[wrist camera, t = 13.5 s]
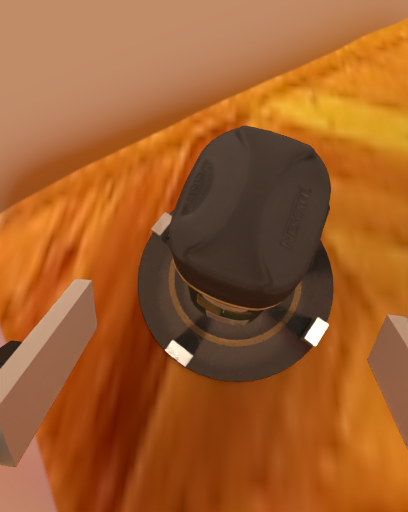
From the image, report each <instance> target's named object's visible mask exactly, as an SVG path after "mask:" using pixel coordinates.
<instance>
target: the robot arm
mask: <svg viewBox="0 0 408 512" xmlns="http://www.w3.org/2000/svg"><path fill="white" fill-rule="evenodd" d="M96 328H97V320H96V311H95V303H94V295H93V287H92V280H83V279H75V280H74V281H73V282H72V283H71V284H70V286H69V287H68V288H67V289H66V290H65V292H64V293H63V294H62V295H61V297H60V298H59V299H58V300H57V301H56V303H55V304H54V305H53V306H52V307H51V309H50V310H49V311H48V312H47V313H46V315H45V316H44V317H43V318H42V319H41V321H40V322H39V323H38V324H37V325H36V327H35V328H34V329H33V330H32V331H31V333H30V334H29V335H28V336H27V337H26V339H25V340H24V341H23V342H19V341H10V342H8V343H7V344H5V345H4V346H2V347H1V348H0V465H5V466H13V467H16V466H17V464H18V463H19V461H20V459H21V458H22V456H23V454H24V453H25V451H26V449H27V447H28V446H29V444H30V442H31V440H32V439H33V437H34V435H35V434H36V432H37V430H38V428H39V427H40V425H41V423H42V421H43V420H44V418H45V416H46V415H47V413H48V411H49V409H50V408H51V406H52V404H53V403H54V401H55V399H56V397H57V396H58V394H59V392H60V390H61V389H62V387H63V385H64V384H65V382H66V380H67V378H68V377H69V375H70V373H71V371H72V370H73V368H74V366H75V365H76V363H77V361H78V359H79V358H80V356H81V354H82V353H83V351H84V349H85V347H86V346H87V344H88V342H89V340H90V339H91V337H92V335H93V334H94V332H95V330H96ZM367 360H368V363H369V365H370V367H371V369H372V371H373V374H374V376H375V378H376V380H377V383H378V385H379V387H380V389H381V391H382V394H383V396H384V398H385V400H386V403H387V405H388V407H389V409H390V412H391V414H392V416H393V418H394V420H395V423H396V425H397V427H398V429H399V432H400V434H401V436H402V438H403V441H404V443H405V445H406V447H407V449H408V319H407V318H406V316H398V315H389V314H387V316H386V318H385V321H384V323H383V325H382V327H381V330H380V332H379V334H378V337H377V339H376V341H375V343H374V346H373V348H372V350H371V353H370V355H369V357H368V359H367Z"/></svg>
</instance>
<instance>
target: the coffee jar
mask: <svg viewBox="0 0 408 512" xmlns="http://www.w3.org/2000/svg"><path fill="white" fill-rule="evenodd" d="M330 194H331V185H330V178H329V174H328V172H327V169H326V167H325V165H324V163H323V161H322V160H321V158H320V157H319V156H318V154H317V153H316V152H315V150H314V149H313V148H312V147H311V146H309V145H307V144H305V143H302V142H300V141H297V140H295V139H292V138H290V137H287V136H284V135H281V134H278V133H274V132H271V131H267V130H263V129H259V128H255V127H250V126H242V127H240V128H237V129H233V130H230V131H228V132H225V133H223V134H221V135H220V136H218V137H216V138H215V139H213V140H212V141H211V142H210V143H209V144H208V145H207V146H206V147H205V148H204V150H203V151H202V152H201V154H200V156H199V157H198V159H197V161H196V163H195V165H194V167H193V169H192V170H191V172H190V174H189V176H188V178H187V180H186V182H185V184H184V187H183V189H182V192H181V194H180V197H179V199H178V202H177V205H176V207H175V210H174V213H173V216H172V218H171V222H170V226H169V245H170V250H171V253H172V255H173V261H174V264H175V267H176V270H177V271H178V273H179V275H180V276H181V277H182V279H183V280H184V281H185V282H186V283H187V284H188V289H189V294H190V298H191V301H192V303H193V304H194V306H195V307H196V308H197V309H198V310H199V311H200V312H201V313H203V314H205V315H207V316H208V317H210V318H212V319H215V320H217V321H220V322H223V323H226V324H231V325H245V324H248V323H250V322H252V321H253V320H255V319H256V318H257V317H258V316H259V315H260V314H261V313H262V312H263V311H264V310H265V309H268V308H271V307H274V306H276V305H278V304H279V303H281V302H282V301H283V300H285V299H286V298H287V297H288V296H289V295H290V294H291V293H292V292H293V291H294V289H295V288H296V287H297V285H298V284H299V283H300V282H301V280H302V279H303V277H304V276H305V274H306V272H307V271H308V270H309V269H310V268H311V267H312V264H313V261H314V257H315V254H316V251H317V247H318V244H319V241H320V238H321V234H322V231H323V228H324V225H325V222H326V219H327V216H328V213H329V210H330V206H329V200H330Z"/></svg>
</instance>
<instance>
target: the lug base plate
mask: <svg viewBox="0 0 408 512" xmlns="http://www.w3.org/2000/svg"><path fill="white" fill-rule="evenodd" d="M173 213H174V211H172V212H171V213H170V214H168V213H166V212H165V213H164V214H163V215H162V216H161V217H160V219H159V220H158V221H157V222H156V224H155V225H154V226H153V227H152V228H151V230H152V232H153V233H152V235H151V237H150V239H149V241H148V242H147V244H146V247H145V249H144V252H143V255H142V258H141V262H140V266H139V274H138V295H139V301H140V306H141V309H142V313H143V316H144V319H145V321H146V323H147V325H148V327H149V330H150V331H151V333H152V334H153V336H154V337H155V339H156V341H157V342H158V343H159V344H160V345H161V347H162V348H163V349H164V350H165V351H166V352H167V353H168V354H169V355H170V356H171V357H172V358H174V359H175V360H176V361H177V362H179V363H180V364H182V365H183V366H185V367H186V368H188V369H190V370H192V371H194V372H196V373H198V374H201V375H203V376H206V377H209V378H213V379H218V380H223V381H235V382H242V381H253V380H258V379H262V378H266V377H269V376H272V375H274V374H277V373H279V372H281V371H283V370H285V369H286V368H288V367H290V366H292V365H293V364H294V363H296V362H297V361H298V360H299V359H301V358H302V357H303V356H304V355H305V354H306V353H307V352H308V351H309V350H310V349H311V348H312V346H316V345H317V343H318V342H319V340H320V339H321V337H322V335H323V334H324V332H325V331H326V329H327V327H328V326H329V324H327V323H326V322H327V320H328V317H329V314H330V310H331V305H332V300H333V276H332V271H331V266H330V262H329V259H328V256H327V253H326V250H325V248H324V246H323V244H322V242H321V240H320V241H319V244H318V247H317V251H316V254H315V257H314V261H313V264H312V267H311V268H310V269H309V270H308V271H307V272H306V274H305V276H304V277H303V279H302V280H301V282H300V283H299V284H298V285H297V287H296V288H295V289H294V291H293V292H292V293H291V294H290V295H289V296H288V297H287V298H286V299H285V300H283V301H282V302H281V303H279V304H278V305H276V306H274V307H271V308H268V309H265V310H264V311H263V312H262V313H261V314H260V315H259V316H258V317H257V318H256V319H255V320H253V321H252V322H250V323H248V324H245V325H231V324H226V323H223V322H220V321H217V320H215V319H212V318H210V317H208V316H207V315H205V314H203V313H201V312H200V311H199V310H198V309H197V308H196V307H195V306H194V304H193V303H192V301H191V298H190V294H189V289H188V284H187V283H186V282H185V281H184V280H183V279H182V277H181V276H180V275H179V273H178V271H177V270H176V267H175V264H174V261H173V255H172V253H171V250H170V245H169V226H170V222H171V218H172V216H173Z"/></svg>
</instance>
